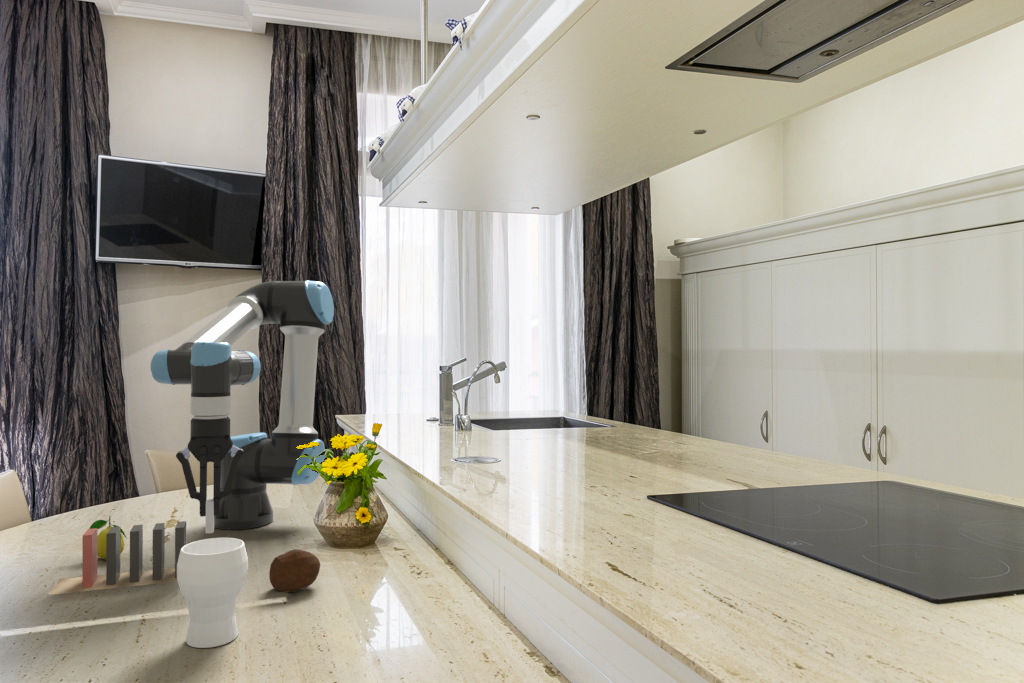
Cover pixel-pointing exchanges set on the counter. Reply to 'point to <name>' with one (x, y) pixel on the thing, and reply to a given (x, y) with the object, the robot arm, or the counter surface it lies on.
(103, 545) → the lemon
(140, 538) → the domino
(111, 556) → the domino
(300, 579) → the potato
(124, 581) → the board
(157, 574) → the domino
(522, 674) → the counter surface
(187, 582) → the cup
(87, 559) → the domino
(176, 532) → the domino
